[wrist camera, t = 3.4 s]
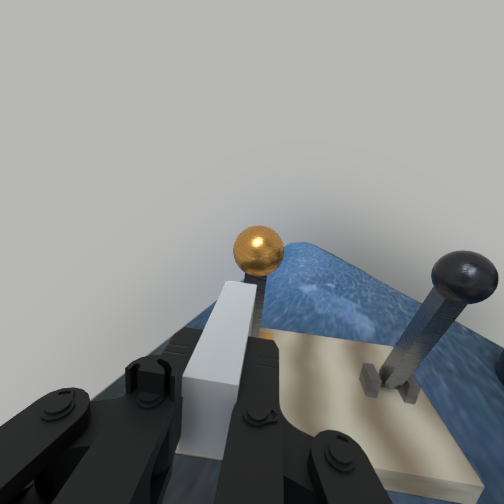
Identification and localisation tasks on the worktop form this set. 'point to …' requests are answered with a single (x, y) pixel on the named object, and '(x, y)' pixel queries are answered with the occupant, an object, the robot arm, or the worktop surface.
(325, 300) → the worktop surface
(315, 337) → the switch board
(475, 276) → the black knob lever
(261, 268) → the orange knob lever
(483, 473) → the worktop surface
